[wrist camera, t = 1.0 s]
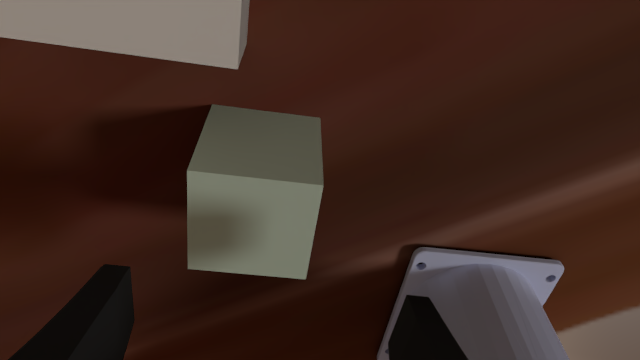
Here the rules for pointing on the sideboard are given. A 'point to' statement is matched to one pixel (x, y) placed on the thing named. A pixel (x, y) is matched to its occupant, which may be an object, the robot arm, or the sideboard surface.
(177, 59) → the grey base
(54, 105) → the sideboard surface
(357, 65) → the sideboard surface
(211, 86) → the sideboard surface
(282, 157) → the green block
